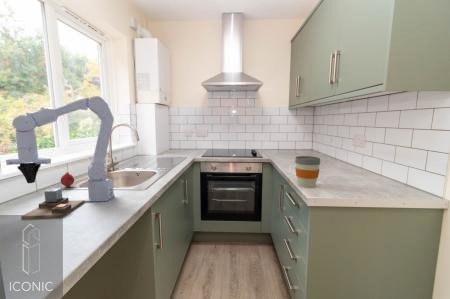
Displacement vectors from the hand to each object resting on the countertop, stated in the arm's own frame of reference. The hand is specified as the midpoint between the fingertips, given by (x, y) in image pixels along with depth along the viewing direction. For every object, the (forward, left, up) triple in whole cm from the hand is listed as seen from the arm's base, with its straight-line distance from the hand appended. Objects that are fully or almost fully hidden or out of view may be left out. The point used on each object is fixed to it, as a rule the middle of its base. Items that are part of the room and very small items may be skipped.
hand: (31, 182), depth 87 cm
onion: (+4, -29, -11) cm, 32 cm away
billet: (-7, -1, -9) cm, 12 cm away
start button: (-14, +6, -9) cm, 18 cm away
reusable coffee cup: (-121, -22, -11) cm, 124 cm away
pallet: (-10, +3, -10) cm, 14 cm away
